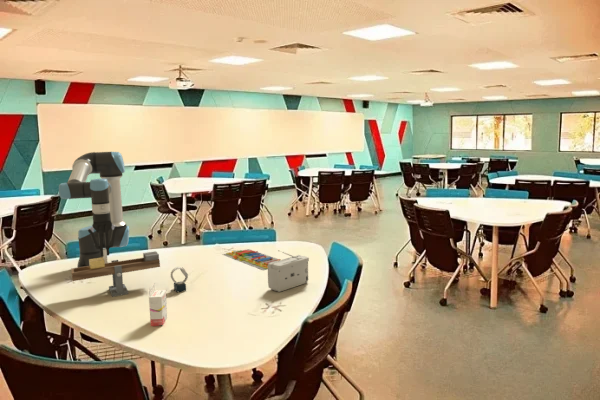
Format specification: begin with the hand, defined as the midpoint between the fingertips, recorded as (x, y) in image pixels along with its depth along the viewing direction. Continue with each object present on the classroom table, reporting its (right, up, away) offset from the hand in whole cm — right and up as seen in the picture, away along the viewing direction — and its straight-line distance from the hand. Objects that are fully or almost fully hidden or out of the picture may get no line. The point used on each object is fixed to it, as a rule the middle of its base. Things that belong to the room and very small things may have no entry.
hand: (105, 262), depth 214 cm
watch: (+33, -14, +5) cm, 37 cm away
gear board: (+64, -6, +58) cm, 87 cm away
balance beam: (+4, -4, +3) cm, 7 cm away
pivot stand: (+4, -14, +4) cm, 16 cm away
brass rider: (-3, -3, -1) cm, 5 cm away
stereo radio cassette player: (+85, -13, +8) cm, 87 cm away
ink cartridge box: (+35, -19, -32) cm, 51 cm away
